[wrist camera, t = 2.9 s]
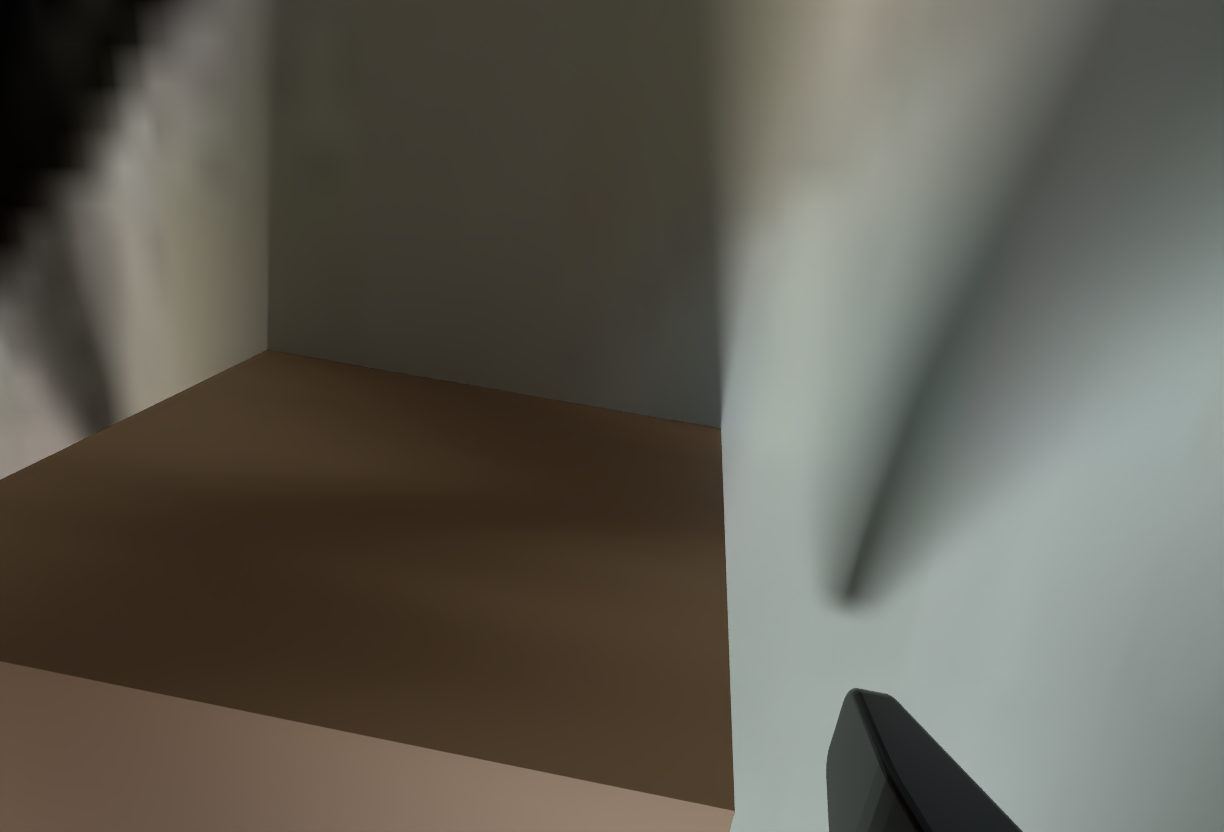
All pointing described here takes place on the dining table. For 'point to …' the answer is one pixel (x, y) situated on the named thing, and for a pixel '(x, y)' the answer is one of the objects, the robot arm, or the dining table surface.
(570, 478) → the walnut cube
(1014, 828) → the robot arm
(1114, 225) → the dining table surface
